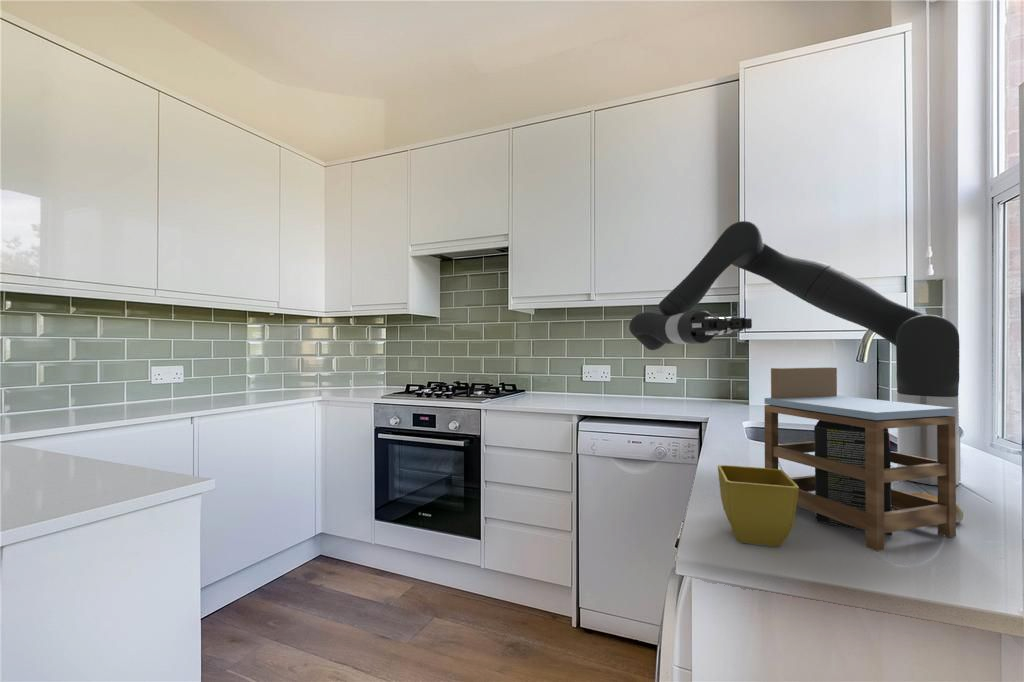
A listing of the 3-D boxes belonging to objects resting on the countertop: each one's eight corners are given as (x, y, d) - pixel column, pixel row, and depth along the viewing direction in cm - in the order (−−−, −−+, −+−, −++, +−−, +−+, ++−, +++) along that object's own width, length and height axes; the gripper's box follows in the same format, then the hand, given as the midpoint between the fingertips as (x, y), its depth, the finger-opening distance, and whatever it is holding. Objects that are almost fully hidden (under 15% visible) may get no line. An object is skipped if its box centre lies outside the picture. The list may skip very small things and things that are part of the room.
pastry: (876, 505, 79) (876, 483, 79) (913, 505, 79) (913, 482, 79) (929, 527, 69) (929, 501, 69) (971, 526, 70) (970, 501, 70)
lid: (833, 400, 82) (833, 367, 82) (955, 415, 65) (955, 372, 65) (764, 403, 78) (764, 368, 78) (876, 420, 61) (875, 374, 61)
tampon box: (893, 538, 64) (892, 432, 64) (813, 522, 70) (813, 425, 70) (889, 515, 73) (888, 422, 73) (819, 502, 78) (818, 416, 79)
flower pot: (800, 557, 59) (800, 486, 59) (726, 548, 61) (725, 480, 61) (782, 530, 67) (781, 469, 67) (717, 523, 70) (717, 464, 70)
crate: (834, 497, 82) (833, 401, 82) (956, 536, 65) (955, 416, 65) (764, 506, 77) (764, 405, 78) (876, 551, 60) (876, 421, 61)
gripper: (665, 311, 105) (721, 303, 89) (712, 312, 109) (774, 304, 93) (666, 344, 105) (722, 342, 89) (713, 343, 109) (775, 341, 93)
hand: (748, 322), depth 91 cm, fingers closed
